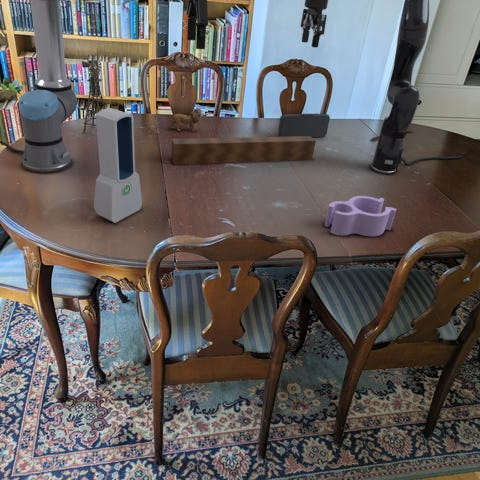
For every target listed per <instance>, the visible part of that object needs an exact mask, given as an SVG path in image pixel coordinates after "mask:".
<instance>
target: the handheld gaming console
mask: <svg viewBox="0 0 480 480" xmlns="http://www.w3.org/2000/svg"><path fill="white" fill-rule="evenodd" d="M330 119H331V117H330V115H329V114H327V113H284V114H282V115H281V116H280V117H279V124H278V130H277V131H278V132H277V135H278V137H294V136H311V137H312V138H322V137H326V136H327V134H328V128H329V124H330Z"/></svg>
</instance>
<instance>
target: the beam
mask: <svg viewBox="0 0 480 480" xmlns="http://www.w3.org/2000/svg"><path fill="white" fill-rule="evenodd" d="M316 142H317V141H316V140H315V139H314V137H311V136H294V137H279V136H252V137H249V136H247V137H204V138H203V137H202V138H200V137H199V138H198V137H197V138H196V137H195V138H171V162H172V163H173V165H174V166H179V165H180V166H181V165H205V164H228V163H229V164H230V163H231V164H232V163H258V162H259V163H261V162H286V161H287V162H289V161H290V162H291V161H313V158H314V152H315V148H316V147H315V146H316Z"/></svg>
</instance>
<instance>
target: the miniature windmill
mask: <svg viewBox="0 0 480 480" xmlns="http://www.w3.org/2000/svg"><path fill="white" fill-rule="evenodd" d="M95 56H96V57H95ZM90 58H91V59H90V60H89V62H90V63H89V62H87V61H83V60H82V61H81V67H82V68H89V70H90V71H89V73H90V75H91V77H90V78H89V79H86V82H90V84H89V87H88V88H89V91H88V97H87V104H86V109H85V116H84V118H85V119H84V122H83V124H84V125H83V133H86V129H87V125H88V126H91V127H97V125H96V124H95V120H96V117H95V114H97V113H98V112H99V111H101V110H100V109H102V110H103V109H106V108H107V107H106V105H105V102H104V97H103V95H102V92H101V86H100V84H99V83H100V82H102V81H103V79H101V78H99V76H100V75H101V72H102V70H101V69H102V66H101V65H102V63H101V60H102V59H101V57H100V56H99V55H98V54H97V53H94V54H93V55H92V56H91V57H90ZM91 93H92V96H91ZM98 93H99V95H98ZM100 100H101V103H102V106H100V103H99V101H100ZM95 101H96V105H95ZM90 105H92V106H91V107H90ZM95 108H97V110H95ZM89 112H90V113H89ZM90 115H92V116H91V118H89V119H88V117H89V116H90ZM90 121H92V123H88V122H90Z"/></svg>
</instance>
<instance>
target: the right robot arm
mask: <svg viewBox="0 0 480 480" xmlns="http://www.w3.org/2000/svg"><path fill="white" fill-rule="evenodd" d="M328 3H329V0H304V7H305V8H302V15H301V20H300V28H301V30H302V35H301V42H302V43H308V42H309V37H310V33H311V32H310V30H312V33H313V35H312V38H311V39H312V40H311V47H312V48H315V49H316V48H318V47H319V43H320V39H321V38H320V37H321V36H323V35H324V34H325V30H326V23H327V14H323V11H324V10H327V9H328ZM429 23H430V0H404V2H403V5H402V10H401V15H400V21H399V25H398V30H397V31H398V32H397V39H396V48H395V53H394V60H393V61H394V62H393V68H392V71H391V76H390V79H389V84H388V88H387V92H386V97H387V101H388V102H389V104H390V105H391V109H390V112H389V114H388V115H386V116H385V117H384V118H383V120H382V125H381V128H380V131H379V135H378V136H379V139H377V143H376V147H375V151H374V155H373V158H372V162H371V165H370V168H371V169H372V170H373V171H374V172H376V173H379V174H384V175H393V174H395V173H396V172H397V171H398V168H399V165H402V162H403V164H404V165H405V166H410V165H413V164H414V163H416V162H420V161H427V160H457V159H461V158H462V157H463V156H467V154H466V152H462V153H463V154H464V153H465V154H464V155H463V156H461V155H462V154H461V155H457V156H430V157H422V158H417V159H414V160H412V161H410V162H407V161H406V160H405V159H404V157H403V156H402V155H403V151H404V147H403V146H404V142H405V139H406V135H407V133H408V132H407V130H409V126H410V125H411V123H412V122H413V120H414V117H415V114H416V111H417V109H418V105H419V102H420V97H421V96H420V90H419V89H418V88H417V87H416V86H415V85H413V84H412V79H413V71H414V67H415V64H416V62H417V60H418V58H419V57H420V55H421V53H422V51H423V49H424V47H425V44H426V42H427V41H426V40H427V35H428V31H429V25H430V24H429Z"/></svg>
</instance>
